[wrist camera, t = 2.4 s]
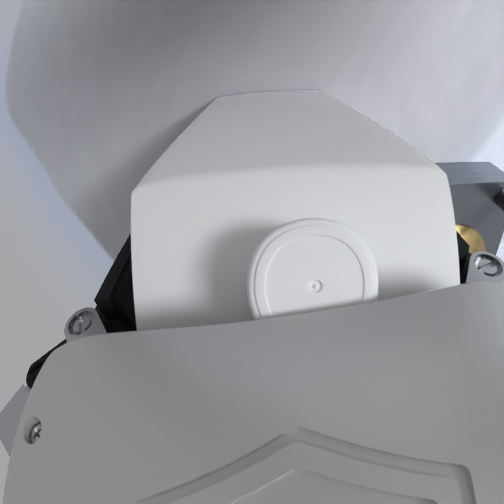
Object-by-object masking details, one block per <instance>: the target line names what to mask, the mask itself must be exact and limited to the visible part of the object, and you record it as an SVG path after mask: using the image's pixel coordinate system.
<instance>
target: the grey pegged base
mask: <svg viewBox="0 0 504 504" xmlns="http://www.w3.org/2000/svg"><path fill="white" fill-rule="evenodd" d="M435 164H436V165H437V166H438V167H439V168H441V169H442V170H443V171H444V172H445V173H446V175H447V178H448V183H449V187H450V193H451V198H452V204H453V211H454V218H455V225H456V231H457V232H458V233H459V234H460V235H461V237H462V238H463V239H464V240H465V241H466V242H467V243H468V245H469V246H470V247H469V252H470V253H471V255H472V254H474V253H475V252H478V251H485V252H489V253H492V254H494V255H496V253H497V250H498V247H499V244H500V241H501V238H502V234H503V231H504V172H503V171H501V170H500V169H499V168H497V167H496V166H494V165H493V164H492V163H490V162H456V163H435Z"/></svg>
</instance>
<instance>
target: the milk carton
mask: <svg viewBox="0 0 504 504" xmlns="http://www.w3.org/2000/svg"><path fill="white" fill-rule="evenodd" d="M131 258H132V279H133V294H134V306H135V317H136V327H137V331H140V330H157V329H171V328H183V327H195V326H206V325H216V324H226V323H236V322H245V321H253V320H261V319H269V318H277V317H284V316H291V315H298V314H305V313H312V312H318V311H325V310H331V309H337V308H343V307H349V306H354V305H360V304H365V303H371V302H376V301H381V300H387V299H392V298H397V297H402V296H406V295H411V294H416V293H421V292H425V291H430V290H434V289H439V288H444V287H449V286H454V285H459V284H460V271H459V255H458V244H457V234H456V225H455V218H454V211H453V204H452V198H451V193H450V187H449V183H448V178H447V175H446V173H445V172H444V171H443V170H442V169H441V168H439V167H438V166H437V165H436V164H435V163H434V162H432V161H431V160H430V159H429V158H428V157H426V156H425V155H424V154H422V153H421V152H420V151H418V150H417V149H416V148H414V147H413V146H411V145H410V144H409V143H407V142H406V141H404V140H403V139H401V138H400V137H398V136H397V135H395V134H394V133H392V132H391V131H389V130H388V129H386V128H385V127H383V126H382V125H380V124H378V123H377V122H375V121H374V120H372V119H370V118H369V117H367V116H365V115H364V114H362V113H360V112H359V111H357V110H355V109H353V108H352V107H350V106H348V105H346V104H345V103H343V102H341V101H339V100H337V99H335V98H334V97H332V96H330V95H328V94H326V93H324V92H322V91H319V90H297V91H275V92H260V93H248V94H238V95H229V96H222V97H217V98H216V99H215V100H214V101H213V102H211V103H210V104H209V105H208V106H207V107H206V108H205V109H204V110H203V111H202V112H201V113H200V114H199V115H198V116H197V117H196V118H195V119H194V120H193V122H192V123H191V124H190V125H189V126H188V127H187V128H186V129H185V130H184V131H183V132H182V133H181V134H180V135H179V136H178V137H177V138H176V140H175V141H174V142H173V143H172V144H171V145H170V146H169V147H168V148H167V149H166V151H165V152H164V153H163V154H162V155H161V156H160V157H159V159H158V160H157V161H156V162H155V163H154V164H153V166H152V167H151V168H150V169H149V170H148V172H147V173H146V174H145V175H144V177H143V178H142V179H141V180H140V182H139V183H138V184H137V186H136V187H135V189H134V190H133V192H132V194H131Z"/></svg>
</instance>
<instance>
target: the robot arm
mask: <svg viewBox="0 0 504 504" xmlns="http://www.w3.org/2000/svg"><path fill="white" fill-rule="evenodd" d="M456 234H457V244H458V255H459V271H460V284H459V285H454V286H449V287H444V288H439V289H434V290H430V291H425V292H421V293H416V294H411V295H406V296H402V297H397V298H392V299H387V300H381V301H376V302H371V303H365V304H360V305H354V306H349V307H343V308H337V309H331V310H325V311H318V312H312V313H305V314H298V315H291V316H284V317H277V318H269V319H261V320H253V321H245V322H236V323H226V324H216V325H206V326H195V327H183V328H171V329H157V330H140V331H137V327H136V317H135V306H134V294H133V279H132V258H131V234H130V235H129V237H128V239H127V240H126V242H125V244H124V246H123V247H122V249H121V251H120V253H119V254H118V256H117V258H116V260H115V262H114V263H113V265H112V267H111V269H110V271H109V273H108V274H107V276H106V278H105V280H104V282H103V284H102V286H101V288H100V290H99V292H98V294H97V295H96V298H95V299H94V301H95V303H96V304H97V306H96V308H95V309H93V308H84V309H81V310H79V311H77V312H76V313H74V314H73V315H72V316H71V317H70V318H69V320H68V321H67V323H66V325H65V328H64V333H65V336H66V339H65V340H64V341H62V342H61V343H60V344H58V345H57V346H56V347H54V348H53V349H52V350H50V351H49V352H48V353H46V354H45V355H44V356H42V357H41V358H40V359H38V360H37V361H36V362H34V363H33V364H32V365H31V366H30V368H29V371H28V373H27V377H26V381H27V386H24V385H22V386H21V388H20V389H19V390H18V391H17V392H16V394H15V395H14V396H13V397H12V399H11V400H10V401H9V402H8V404H7V405H6V406H5V407H4V409H3V410H2V412H1V413H0V439H1V441H2V443H3V445H4V447H5V449H6V451H7V452H8V454H9V456H10V460H9V465H8V470H7V476H6V483H5V489H4V498H3V504H504V263H503V261H502V260H501V259H500V258H498V257H497V256H496V255H494V254H492V253H489V252H485V251H478V252H475V253H474V254H472V255H471V253H470V252H469V247H470V246H469V245H468V243H467V242H466V241H465V240H464V239H463V238H462V237H461V235H460V234H459V233H458V232H457V231H456Z"/></svg>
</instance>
